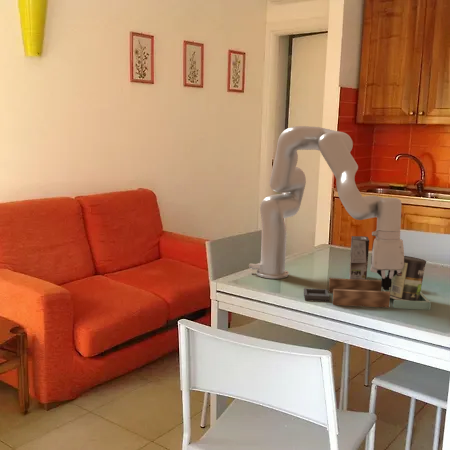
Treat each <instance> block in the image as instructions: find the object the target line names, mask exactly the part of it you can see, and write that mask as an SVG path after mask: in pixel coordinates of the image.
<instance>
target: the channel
mask: <svg viewBox="0 0 450 450" xmlns="http://www.w3.org/2000/svg"><path fill="white" fill-rule="evenodd" d="M381 280H382V279H381ZM381 280H380V279H379V280H378V279H366V280H362V279H350V278H336V277H330V278H329V280H328V281H329V282H328V294H333V295H332V305H333V306H345V307H346V306H349V307H369V308H370V307H371V308H373V307H374V308H388V309H389V308H390V299H391V298H390V292H389V291H385V290H382V289H383V287H381Z"/></svg>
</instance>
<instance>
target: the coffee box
mask: <svg viewBox="0 0 450 450" xmlns="http://www.w3.org/2000/svg"><path fill="white" fill-rule="evenodd" d="M350 242H351V243H350V258H349V259H350V260H349V273H348V276H349V279H362V280H367V279H368V275H367V274H368V263H369V251H370V250H369V248H370V239H369V237H368V236H361V235H360V236H359V235H357V236H356V235H355V236H353V235H352V236H351V241H350Z"/></svg>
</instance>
